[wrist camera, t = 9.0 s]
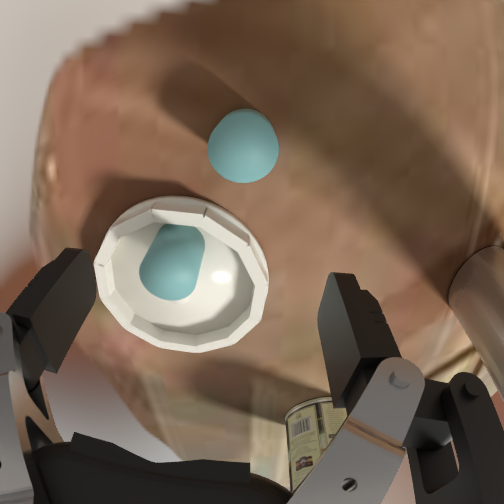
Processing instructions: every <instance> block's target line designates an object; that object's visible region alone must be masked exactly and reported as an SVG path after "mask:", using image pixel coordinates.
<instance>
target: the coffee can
mask: <svg viewBox="0 0 504 504" xmlns="http://www.w3.org/2000/svg"><path fill="white" fill-rule="evenodd" d="M346 417H347V412H346V408H337V409H333V403H332V397H322V398H316V399H312V400H309V401H306V402H303V403H301V404H299V405H297V406H295V407H293V408H292V409H291V410H290V411H289V412H288V413H287V414H286V416H285V422H286V432H287V446H288V460H289V476H290V491H291V492H292V491H293V490H294V489H295V488H296V487H297V485H298V484H299V483H300V482H301V480H302V479H303V478H304V477H305V475H306V474H307V473H308V471H309V470H310V469H311V468H312V466H313V465H314V464H315V462H316V461H317V460H318V458H319V457H320V455H321V454H322V453H323V451H324V450H325V448H326V447H327V446H328V444H329V443H330V441H331V440H332V438H333V437H334V435H335V434H336V432H337V431H338V429H339V428H340V426H341V425H342V423H343V422H344V420H345V419H346Z"/></svg>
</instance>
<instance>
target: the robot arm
mask: <svg viewBox="0 0 504 504" xmlns="http://www.w3.org/2000/svg"><path fill="white" fill-rule="evenodd" d="M95 299H96V284H95V279H94V275H93V270H92V265H91V260H90V256H89V253H88V251H87V250H86V249H77V248H65V249H64V250H63V251H62V252H61V254H60V255H59V256H58V257H57V258H56V259H55V260H53V261H52V262H50V263H49V264H47V265H45V266H44V267H42V268H41V270H40V271H39V272H38V273H37V274H36V276H35V277H34V279H32V280H31V281H30V283H29V284H28V287H25V289H24V290H23V291H22V293H21V294H20V295H19V296H18V298H17V299H16V300H15V301H14V302H13V304H12V305H11V306H10V308H9V309H8V310H7V312H6V313H1V312H0V504H381V502H382V501H383V499H384V497H385V495H386V493H387V491H388V489H389V487H390V485H391V483H392V482H393V480H394V478H395V476H396V474H397V471H398V469H399V467H400V465H401V463H402V460H403V458H404V455H405V449H404V448H402V447H406V448H407V453H408V458H409V464H410V469H411V475H412V480H413V487H414V493H415V500H416V504H504V431H503V428H502V425H501V423H500V420H499V417H498V415H497V412H496V410H495V407H494V404H493V402H492V400H491V397H490V395H489V392H488V390H487V388H486V386H485V384H484V383H483V382H482V381H481V380H480V379H479V378H478V377H477V376H475V375H473V374H471V373H468V372H460V373H457V374H456V375H454V377H453V378H452V379H451V380H450V382H449V383H444V382H439V381H434V380H429V379H425V378H424V376H423V374H422V372H421V370H420V369H419V368H418V367H417V366H416V365H415V364H414V363H412V362H410V361H409V360H406V359H404V358H402V357H401V354H400V352H399V349H398V347H397V344H396V342H395V340H394V337H393V335H392V333H391V330H390V328H389V326H388V324H387V323H386V322H387V321H386V319H385V316H384V314H382V310H381V307H380V305H379V303H378V301H377V300H376V299H375V298H374V297H373V296H372V295H371V293H370V292H369V291H368V290H361V289H360V287H359V284H358V282H357V280H356V277H355V275H354V274H349V273H335V272H331V273H330V274H329V276H328V279H327V282H326V286H325V290H324V293H323V297H322V300H321V304H320V307H319V311H318V330H319V335H320V340H321V345H322V350H323V355H324V360H325V365H326V370H327V376H328V381H329V386H330V392H331V397H332V403H333V409H337V408H346V412H347V417H346V419H345V420H344V422H343V423H342V425H341V426H340V428H339V429H338V431H337V432H336V434H335V435H334V437H333V438H332V440H331V441H330V443H329V444H328V446H327V447H326V448H325V450H324V451H323V453H322V454H321V455H320V457H319V458H318V460H317V461H316V462H315V464H314V465H313V466H312V468H311V469H310V470H309V471H308V473H307V474H306V475H305V477H304V478H303V479H302V480H301V482H300V483H299V484H298V485H297V487H296V488H295V489H294V490H293V491H292V492H290V491H288V489H286V488H285V487H283V486H281V485H280V484H278V483H276V482H274V481H272V480H270V479H268V478H265V477H263V476H260V475H257V474H253V473H250V463H242V462H227V461H215V460H205V459H202V460H192V461H180V462H165V463H155V462H151V461H148V460H146V459H144V458H142V457H140V456H137V455H135V454H133V453H131V452H129V451H127V450H125V449H123V448H121V447H119V446H117V445H115V444H113V443H110V442H107V441H103V440H100V439H96V438H92V437H89V436H86V435H83V434H79V433H76V432H74V434H73V437H72V440H71V442H64V441H63V439H62V437H61V436H60V434H59V432H58V430H57V428H56V425H55V422H54V419H53V416H52V412H51V408H50V405H49V401H48V397H47V393H46V389H45V385H44V381H43V379H42V377H41V375H42V372H43V371H44V370H47V371H50V372H53V373H57V372H58V370H59V368H60V366H61V364H62V362H63V360H64V358H65V356H66V354H67V352H68V350H69V348H70V346H71V344H72V342H73V341H74V339H75V337H76V335H77V333H78V331H79V329H80V328H81V326H82V324H83V322H84V320H85V319H86V317H87V315H88V313H89V312H90V310H91V308H92V306H93V305H94V302H95ZM448 301H449V305H450V307H451V309H452V311H453V312H454V314H455V315H456V317H457V319H458V320H459V322H460V323H461V325H462V327H463V328H464V330H465V332H466V334H467V335H468V337H469V339H470V340H471V342H472V344H473V345H474V347H475V349H476V351H477V352H478V354H479V356H480V358H481V359H482V361H483V363H484V365H485V367H486V368H487V370H488V372H489V374H490V376H491V378H492V380H493V382H494V384H495V386H496V388H497V390H498V392H499V394H500V396H501V398H502V400H503V402H504V249H503V248H501V247H498V246H490V247H487V248H484V249H482V250H480V251H479V252H477V253H476V254H474V255H473V256H472V257H470V258H469V259H468V260H467V261H466V263H465V264H464V265H463V266H462V267H461V269H460V270H459V271H458V273H457V274H456V276H455V278H454V279H453V282H452V284H451V287H450V291H449V298H448ZM452 439H453V442H454V446H455V450H456V453H457V457H458V461H459V472H458V469H457V465H456V460H455V457H454V453H453V449H452V446H451V442H450V441H451V440H452Z"/></svg>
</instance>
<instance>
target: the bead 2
mask: <svg viewBox="0 0 504 504" xmlns="http://www.w3.org/2000/svg"><path fill="white" fill-rule="evenodd" d="M207 150H208V157H209V160H210V163H211V164H212V166H213V168H214V169H215V170H216V171H217V172H218V173H219V174H220V175H221V176H222V177H224V178H226V179H228V180H230V181H233V182H238V183H249V182H253V181H257V180H259V179H261V178H262V177H264V176H265V175H267V174H268V173H269V172H270V171H271V170H272V168H273V167H274V165H275V163H276V161H277V158H278V154H279V144H278V140H277V137H276V134H275V132H274V129H273V127H272V125H271V123H270V121H269V120H268V119H267V117H266V116H264V115H263V114H262V113H260V112H258V111H256V110H253V109H247V108H243V109H237V110H234V111H232V112H230V113H229V114H227V115H226V116H225V117H224V118H223V119H222V120H221V121H220V123H219V124H218V125H217V126H216V127H215V129H214V130H213V132H212V133H211V135H210V138H209V141H208V149H207Z"/></svg>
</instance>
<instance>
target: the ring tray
mask: <svg viewBox="0 0 504 504" xmlns="http://www.w3.org/2000/svg"><path fill="white" fill-rule="evenodd" d="M165 224H176V225H185V226H194V227H196V228H197V229H198V230H199V231H200V232H201V234H202V235H203V238H204V241H205V251H204V254H203V258H202V263H201V267H200V271H199V275H198V279H197V283H196V287H195V289H194V291H193V292H192V293H191V294H190V295H189V296H188V297H186V298H184V299H181V300H175V301H171V300H164V299H161V298H158V297H156V296H154V295H153V294H151V293H150V292H149V291H148V290H147V289H146V288H145V287H144V286H143V284H142V282H141V280H140V276H139V267H140V264H141V263H142V261H143V259H144V257H145V255H146V253H147V251H148V249H149V247H150V246H151V244H152V242H153V240H154V238H155V236H156V234H157V233H158V231H159V229H160V228H161V227H162V226H163V225H165ZM94 268H95V274H96V280H97V285H98V291H99V296H100V298H101V300H102V302H103V303H104V304H105V305H106V307H107V308H108V309H109V311H110V312H111V313H112V314H113V316H114V317H115V318H116V319H117V321H118V322H119V323H120V324H121V325H122V327H123V328H125V329H126V330H128V331H129V332H131V333H133V334H135V335H136V336H138V337H140V338H142V339H144V340H146V341H147V342H149V343H151V344H153V345H155V346H157V347H159V348H164V349H171V350H178V351H185V352H192V353H197V352H198V353H201V352H205V351H210V350H214V349H218V348H222V347H226V346H230V345H233V344H235V343H236V342H238V341H239V340H240V339H241V338H242V337H243V336H244V335H245V334H247V333H248V332H249V331H250V330H251V329H252V328H253V327H254V326H255V325H257V324H258V323H259V322H260V320H261V318H262V313H263V308H264V303H265V299H266V296H267V292H268V284H269V280H268V266H267V261H266V257H265V255H264V252H263V249H262V247H261V245H260V244H259V242H258V240H257V238H256V237H255V236H254V234H253V233H252V232H251V230H250V229H249V228H248V227H247V226H246V225H245V224H244V223H243V222H242V221H241V220H240V219H238V218H237V217H236V216H235V215H233V214H232V213H230V212H229V211H227V210H225V209H224V208H222V207H220V206H218V205H216V204H213V203H211V202H209V201H205V200H202V199H199V198H194V197H188V196H177V195H169V196H159V197H155V198H151V199H147V200H145V201H142V202H140V203H137V204H136V205H134V206H132V207H131V208H129V209H127V210H126V211H125V212H124V213H123V214H121V215H120V216H119V218H118V219H117V220H116V221H115V222H114V223H113V224H112V226H111V227H110V228H109V230H108V232H107V233H106V235H105V237H104V240H103V242H102V246H101V248H100V250H99V252H98V254H97V256H96V258H95V260H94Z"/></svg>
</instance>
